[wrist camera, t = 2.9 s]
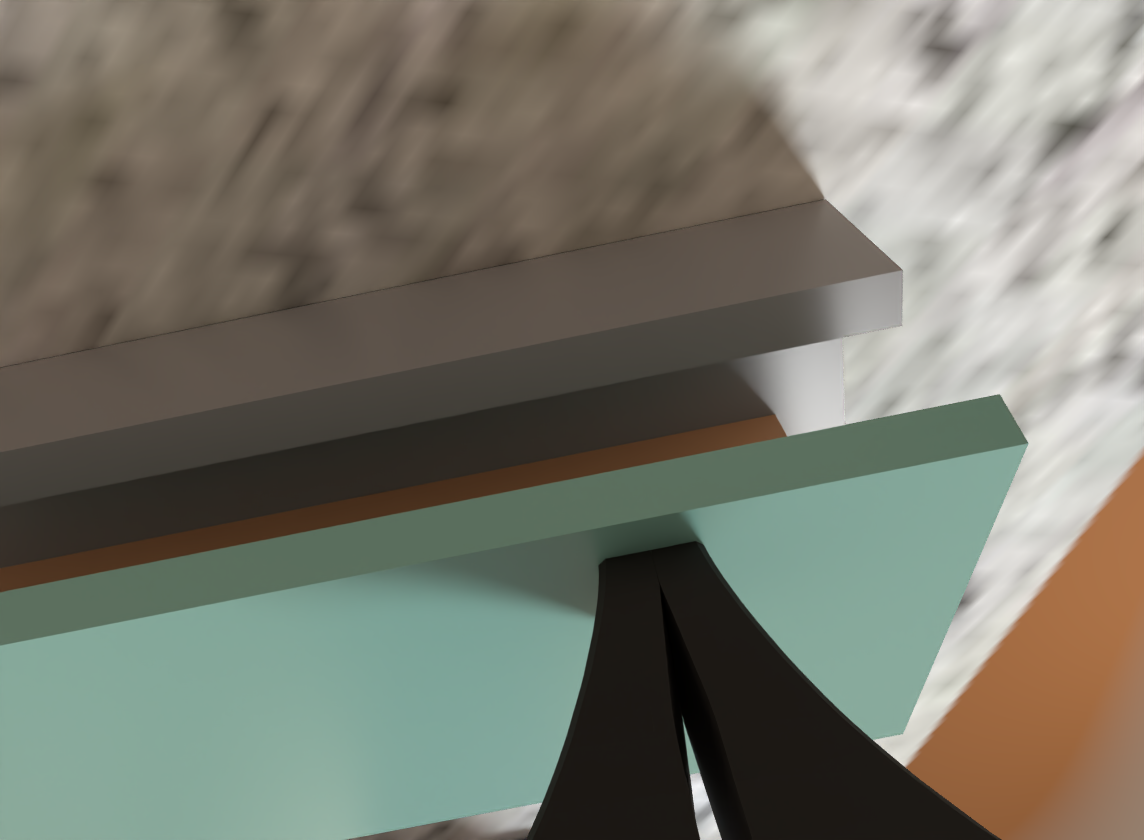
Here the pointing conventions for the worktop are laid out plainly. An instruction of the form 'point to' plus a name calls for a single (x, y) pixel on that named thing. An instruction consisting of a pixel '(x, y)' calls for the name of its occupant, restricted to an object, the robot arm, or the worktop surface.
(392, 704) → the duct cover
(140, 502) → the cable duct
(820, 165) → the worktop surface
